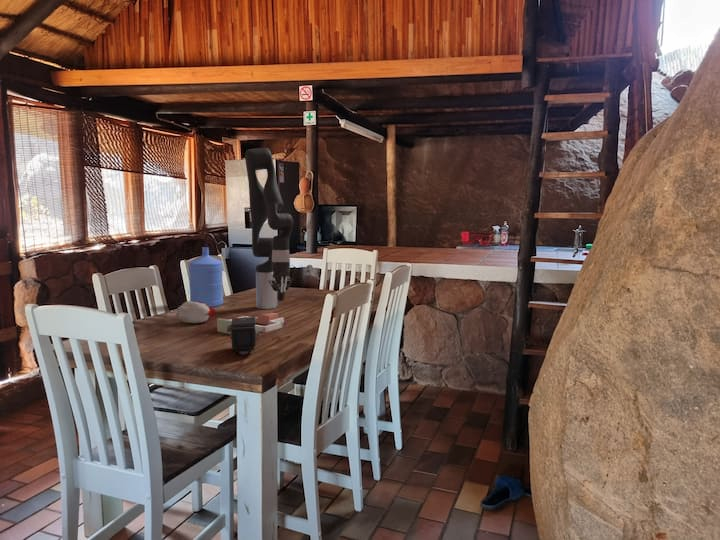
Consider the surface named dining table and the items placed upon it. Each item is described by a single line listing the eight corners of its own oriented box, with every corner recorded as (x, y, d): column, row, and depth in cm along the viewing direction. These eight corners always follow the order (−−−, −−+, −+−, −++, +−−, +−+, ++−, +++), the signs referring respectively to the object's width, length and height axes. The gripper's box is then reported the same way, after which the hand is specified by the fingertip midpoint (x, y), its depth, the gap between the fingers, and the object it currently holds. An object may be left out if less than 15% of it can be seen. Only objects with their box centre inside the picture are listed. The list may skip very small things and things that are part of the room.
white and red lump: (174, 322, 222) (202, 320, 235) (193, 325, 216) (221, 323, 229) (175, 300, 222) (203, 299, 235) (195, 303, 216) (222, 302, 229)
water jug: (214, 308, 255) (212, 249, 252) (183, 306, 259) (182, 248, 255) (228, 302, 271) (227, 246, 267) (199, 301, 274) (198, 245, 270)
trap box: (256, 317, 235) (256, 306, 235) (294, 324, 223) (294, 312, 223) (207, 329, 213) (207, 316, 213) (246, 337, 201) (246, 324, 201)
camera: (227, 350, 188) (227, 357, 173) (226, 317, 187) (226, 322, 173) (258, 348, 190) (261, 355, 175) (258, 315, 190) (260, 320, 175)
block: (267, 321, 230) (267, 311, 230) (278, 322, 227) (278, 313, 227) (257, 323, 225) (257, 314, 224) (269, 325, 222) (268, 315, 221)
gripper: (285, 259, 238) (285, 298, 239) (263, 260, 227) (263, 301, 229) (298, 259, 233) (298, 299, 235) (276, 262, 222) (276, 303, 224)
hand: (281, 300), depth 232 cm, fingers closed
